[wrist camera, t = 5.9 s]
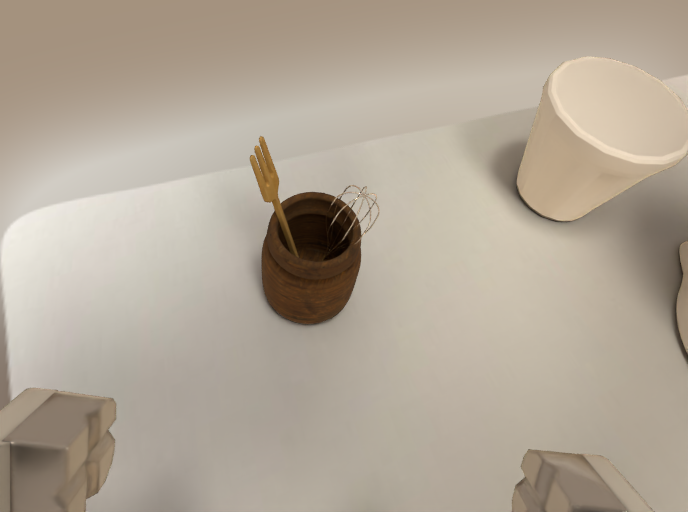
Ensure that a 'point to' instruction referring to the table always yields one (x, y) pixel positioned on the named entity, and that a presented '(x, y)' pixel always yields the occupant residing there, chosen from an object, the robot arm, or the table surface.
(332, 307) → the utensil holder
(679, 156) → the cup
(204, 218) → the table surface
